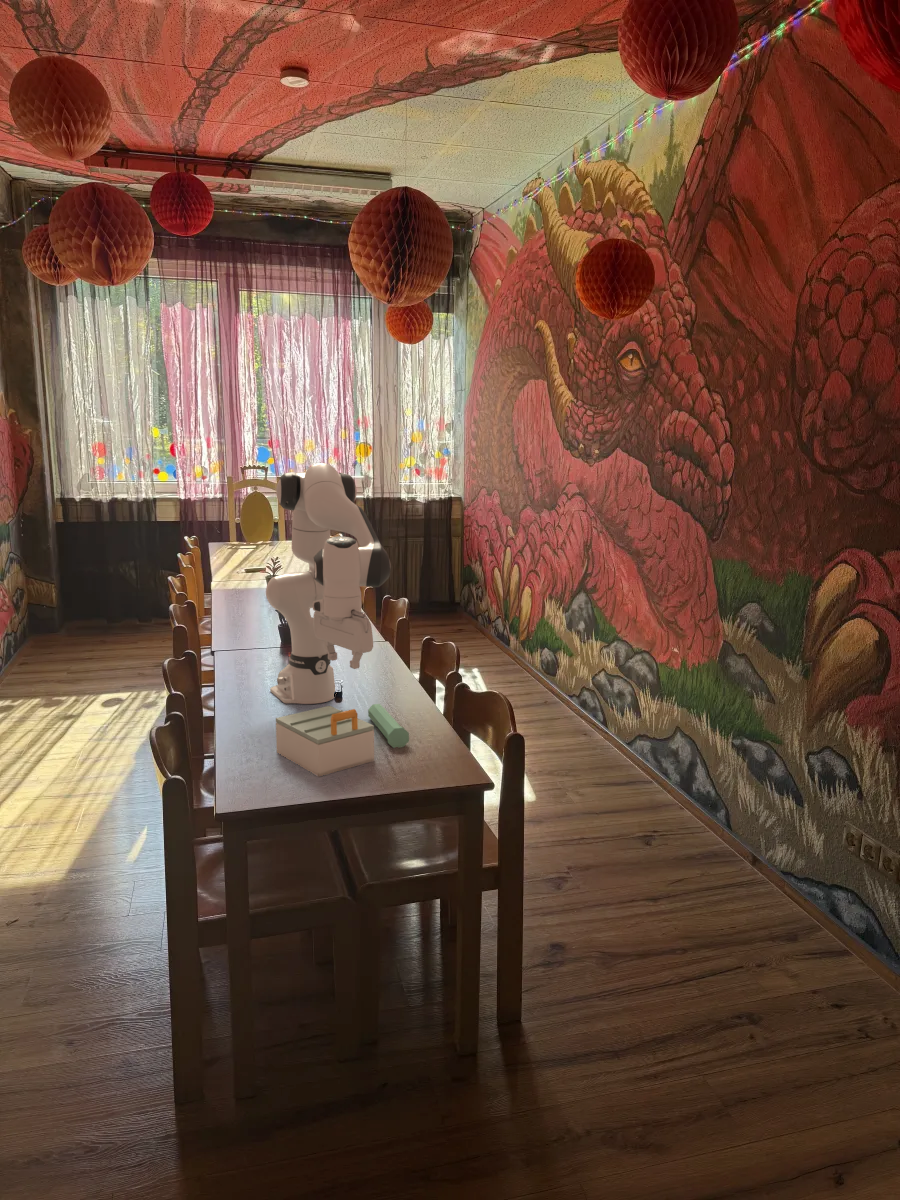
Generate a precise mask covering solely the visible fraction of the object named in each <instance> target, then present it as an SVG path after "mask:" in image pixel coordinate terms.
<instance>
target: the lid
mask: <svg viewBox="0 0 900 1200" xmlns="http://www.w3.org/2000/svg"><path fill="white" fill-rule="evenodd" d="M358 717H359V716H358V712H357V710H356V709H355V708H353V709H348V710H345V711H344V710H341V709H338V708H336V707H334V706H331V705H326V706H323V707H318V708H313V709H310V710H305V711H301V712H297V713H293V714H292V713H291V714H287V715H283V716H279V717H275V723H279V724H281V725H283V726H285V727H286V728H288V729H290V730H292V731H294V732H296V733H298V734H300V735H302V736H304V737H306V738H308V739H309V740H311V741H313V742H315V743H317V744H321V743H324V742H328V741H332V740H336V739H340V738H343V737H347V736H351V735H355V734H359V733H362V732H366V731H370V730H374V731H375V724H374V725H373V724H371V723H369V722H367V721H365V720H363V719H360V718H358Z"/></svg>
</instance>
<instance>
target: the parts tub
mask: <svg viewBox="0 0 900 1200" xmlns="http://www.w3.org/2000/svg"><path fill="white" fill-rule="evenodd" d="M275 737H276V738H275V739H276V741H275V742H276V753H277V754H278V753H279V754H278V755H280V754H281V755H280V756H282V757H283V756H284V758H285V757H286V758H285V759H287V760H289V761H290V760H291V762H292V761H293V762H292V763H294V762H295V763H294V764H295V765H297V764H298V766H299V765H300V766H299V767H301V768H302V767H303V769H304V770H306V771H308V772H309V771H310V772H309V773H311V772H312V774H313V775H314V776H316V775H317V776H316V777H318V778H321V777H323V775H324V776H327V775H330V773H331V774H334V773H338V772H341V771H345V770H348V769H351V768H354V767H358V766H361V765H364V764H369V763H372V762H374V761H375V729H374V730H370V731H366V732H362V733H359V734H355V735H351V736H347V737H343V738H340V739H336V740H332V741H328V742H324V743H321V744H317V743H315V742H313V741H311V740H309V739H308V738H306V737H304V736H302V735H300V734H298V733H296V732H294V731H292V730H290V729H288V728H286V727H285V726H283V725H281V724H279V723H277V722H275ZM337 771H338V772H337ZM320 776H321V777H320Z"/></svg>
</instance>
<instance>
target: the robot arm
mask: <svg viewBox="0 0 900 1200" xmlns="http://www.w3.org/2000/svg"><path fill="white" fill-rule="evenodd" d="M275 493H276V497H277V500H278V503H279V505H280V507H281V508H282V509H285V510H288V511H292V513H293V514H292V523H291V524H292V525H291V551H292V553H293V556H295V557H296V559H299V560H300V561H302V562H304V563H306V564H308V567H309V569H308V571H299V572H298V571H297V572H286V573H282V574H279V575H276V576H273V577H271V578H270V579H269V581H268V582H267V585H266V588H265V596H266V599H267V601H268V603H269V605H270V606H271V607H272V608H273V609H275V610H276V611H277V612H279V613H280V614H281V615H282V617H284V619H285V620H286V623H287V624H288V628H289V629H290V638H291V641H290V642H291V652H288V657H289V660H288V664H287V665H286V666H285V667H283V669H281V671H279V673H278V674H277V678H276V682H277V685H274V686H272V687H270V688H269V689H270V690H269V691H270V693H272V694H273V695H274V696H275V697H276V698H277V699H279V700H280V701H281V702H283V703H284V704H300V705H301V704H302V705H313V704H315V705H316V704H323V703H325V702H326V703H327V702H329V701H332V700H333V699H335V697H334V692H335V688H336V683H335V675H334V674H335V673H334V667H333V666H331V662H333V661H334V662H335V661H337V660H338V652H337V651H336V648H335V646H338V647H341V648H344V649H347V650H349V651H351V655H352V658H351V660H349V667H350V669H353V670H357V669H359V668H360V664H361V663H360V661H361V660H362V657H363V654H365V653H370V652H372V651H373V649H374V638H373V637H374V636H373V629H372V628H373V627H372V623H371V622H370V619H369V618H368V616H367V614H366V612H362V591H361V587H369V588H371V587H372V588H380V587H381V586H382V585H384V584H385V583H386V581H387V580H388V579H389V578H390V577H391V576H390V575H391V567H392V566H391V561H390V557H389V554H388V552H387V551H386V550H385V548H384V547H383V546H382V544H381V542H380V540H379V538H378V536H377V534H376V532H375V531H374V528H373V526H372V524H371V522H370V520H369V518H368V516H367V514H366V512H365V511H364V509H363V508H362V507H361V506H360V505H357V504H356V503H355V502H356V498H357V496H358V495H357V486H356V482H355V479H354V478H353V477H352V475H350V474H347V473H343V472H338V471H337V469H336V468H335V467H333V465H330V464H328V463H325V462H320V463H319V462H318V463H315V464H313V465H311V466H310V467H309V468H307V469H306V471H300V472H295V471H290V472H286V473H283V474H281V476H280V477H279V479H278V481H277V484H276V487H275ZM331 530H332V531H337V532H342V533H345V534H349V535H351V536H353V537H354V538H353V537H350V536H344V535H338V536H332V537H331ZM311 609H312V610H313V611H314V613H313V616H312V615H311Z"/></svg>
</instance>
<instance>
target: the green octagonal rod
mask: <svg viewBox="0 0 900 1200" xmlns="http://www.w3.org/2000/svg"><path fill="white" fill-rule="evenodd" d="M367 715H368V716H367V717H368V718H369V719H370V720H371V721H372V723H373V724H374V726H376V728H378V730H379V731H380V732H381V733H382V735H383V736H384V737H385V738H386V739H387V744H389V745H390V746H391V747H392V748H393V749H395V747H398V748H404V747H405V746H406V745H407V744H408V743H409V742H410V733H409V731H408V730H406V729H405V728H404V727H403V726H401V725H400V724H399V723H398V722H397V720H396V719H395V718H394V717H393V716H392V715H391V714H390V713H389V712H388V711H387V709H386V708H385V707H384V706H383V705H381V704H380V703H373V704H372V705H371V706H370V707H369V708H368V709H367Z"/></svg>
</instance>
